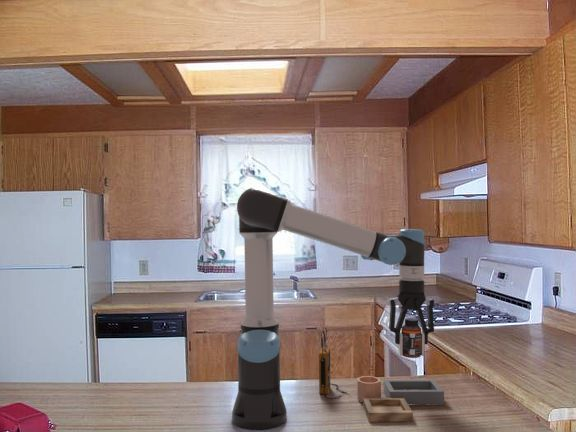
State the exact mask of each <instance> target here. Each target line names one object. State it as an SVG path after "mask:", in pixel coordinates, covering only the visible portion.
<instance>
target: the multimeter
mask: <svg viewBox="0 0 576 432" xmlns="http://www.w3.org/2000/svg"><path fill="white" fill-rule="evenodd" d="M324 329H325V330H324ZM327 333H328V330H327V328H326V327H322V331H321V333H320V338H321V339H320V341H321V343H320V345H322V346H321V349H320V351H319V352H318V384H319V385H318V387H319V388H318V392H319V395H320V394H321V395H324V398H326V399H329V400H334V399H338V398H340V397H342V396H344V395H345V394H346V393H347V394H349V395H351V393H350V392H348V391H346V390H343V389H339V385H337V384H335V383H331V348H330V347H327V346H328V345H327V344H326V343H327V338H326V337H327V335H328V334H327ZM331 385H333V386H336V388H335V389H336V390H337V391H339V392H341V393H343V394H339V395H336V396H334V397H331V398H329V397H327V396H326V395H329V391H330V389H331ZM337 397H338V398H337ZM333 398H334V399H333Z"/></svg>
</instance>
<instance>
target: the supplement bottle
mask: <svg viewBox="0 0 576 432" xmlns="http://www.w3.org/2000/svg"><path fill="white" fill-rule="evenodd" d="M401 333H402V334H403V352H402V356H401V357H405V358H409V359H416V358H417V359H418V358H420V357H422V355H421V333H422V328H421V326H420V325H419V318H415V317H412V318H411V317H405V319H404V324H403V325H402V328H401Z"/></svg>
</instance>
